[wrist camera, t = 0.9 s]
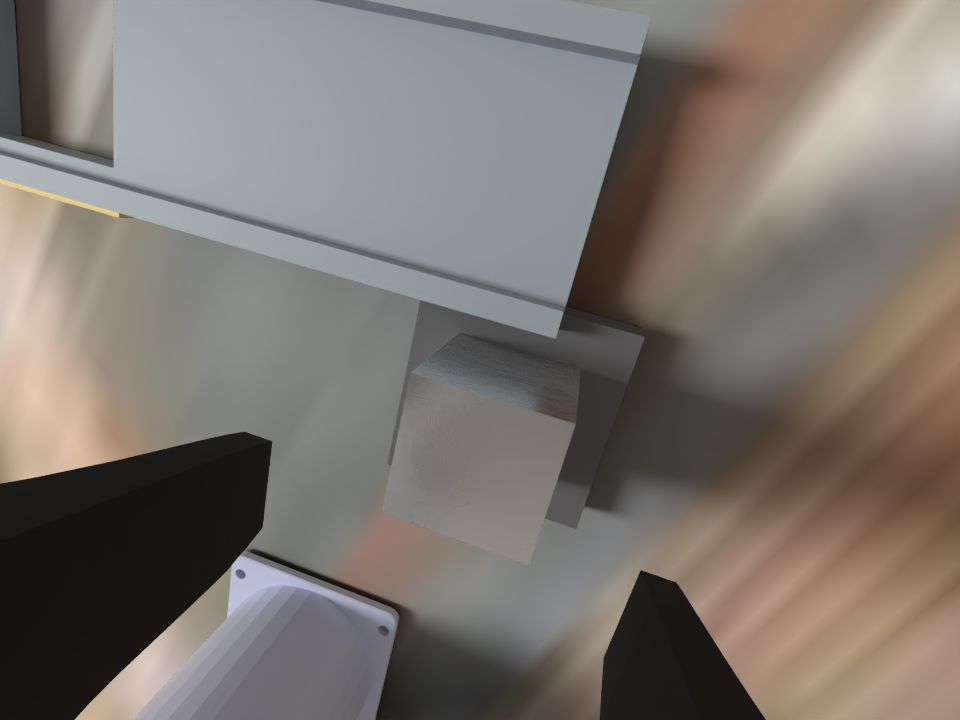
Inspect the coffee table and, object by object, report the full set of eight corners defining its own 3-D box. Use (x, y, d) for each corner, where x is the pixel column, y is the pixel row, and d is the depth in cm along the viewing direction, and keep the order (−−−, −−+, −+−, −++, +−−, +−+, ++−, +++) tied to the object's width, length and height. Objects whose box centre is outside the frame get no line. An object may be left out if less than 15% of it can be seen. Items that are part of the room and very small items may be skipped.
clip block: (545, 477, 16) (529, 565, 12) (434, 440, 17) (381, 512, 13) (581, 368, 15) (575, 424, 11) (459, 333, 16) (410, 372, 12)
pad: (577, 505, 18) (575, 528, 17) (402, 446, 19) (387, 464, 18) (640, 327, 16) (644, 337, 14) (439, 271, 17) (425, 275, 15)
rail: (558, 331, 17) (551, 351, 14) (-11, 169, 20) (-103, 160, 17) (645, 39, 14) (657, -5, 11) (-31, -91, 17) (-144, -148, 15)
